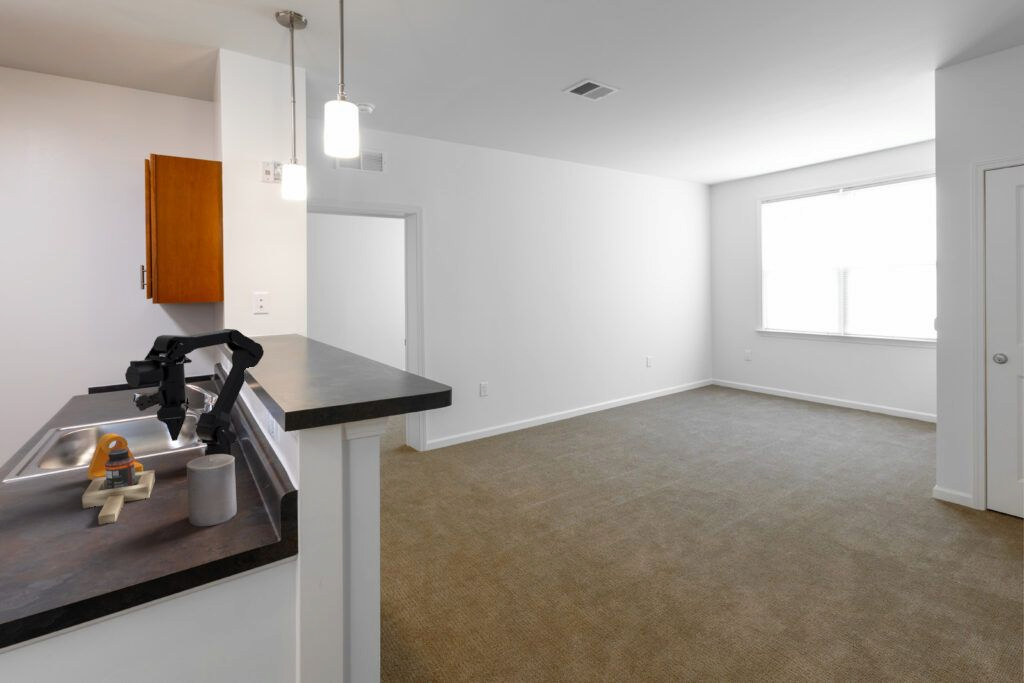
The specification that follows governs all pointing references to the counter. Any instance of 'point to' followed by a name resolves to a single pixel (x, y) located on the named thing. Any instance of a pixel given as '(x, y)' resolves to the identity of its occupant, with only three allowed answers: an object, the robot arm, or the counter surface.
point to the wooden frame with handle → (116, 495)
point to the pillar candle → (211, 489)
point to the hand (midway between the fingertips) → (176, 436)
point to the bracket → (102, 455)
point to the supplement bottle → (120, 469)
